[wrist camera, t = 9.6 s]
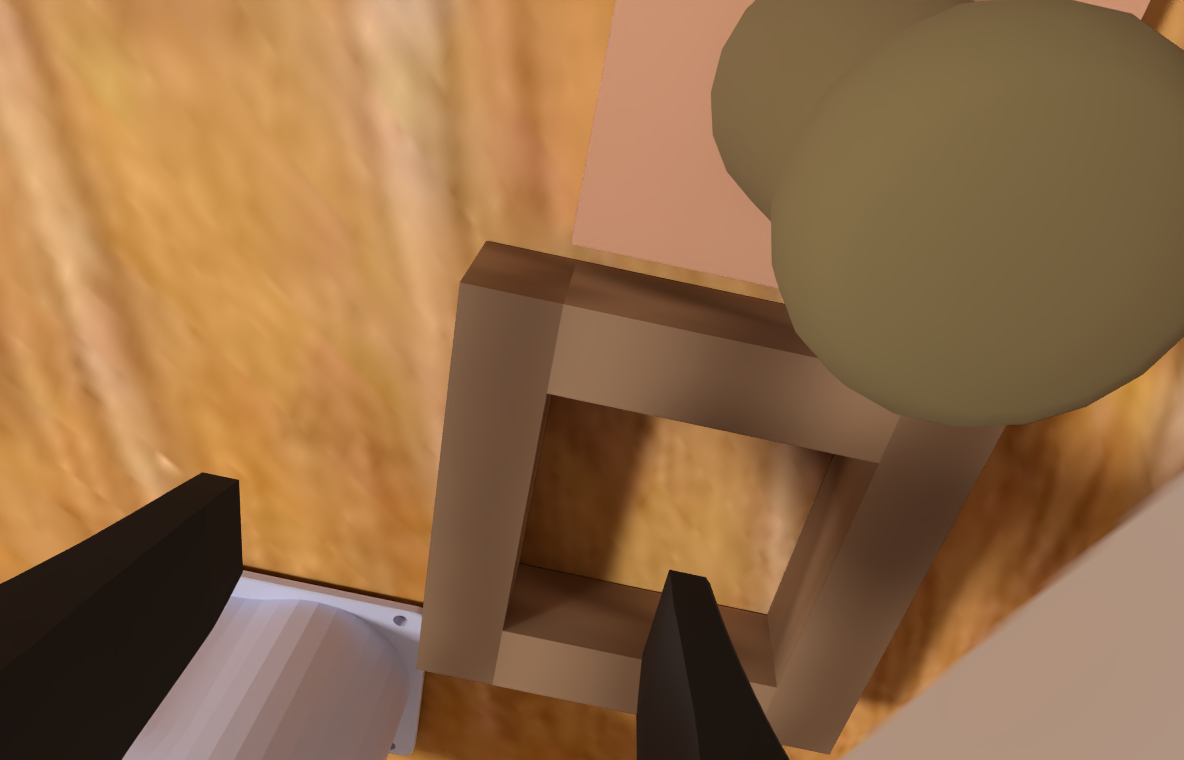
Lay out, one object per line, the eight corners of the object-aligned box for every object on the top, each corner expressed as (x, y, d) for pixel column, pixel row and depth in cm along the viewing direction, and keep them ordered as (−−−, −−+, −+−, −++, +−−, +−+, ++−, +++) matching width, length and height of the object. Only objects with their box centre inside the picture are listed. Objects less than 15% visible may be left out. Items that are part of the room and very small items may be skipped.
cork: (850, -121, 16) (1115, -220, 6) (1044, 78, 17) (1499, 242, 8) (656, 119, 19) (636, 306, 9) (838, 275, 20) (990, 580, 10)
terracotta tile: (574, 233, 21) (571, 244, 20) (671, -292, 16) (671, -303, 15) (977, 320, 21) (987, 332, 20) (1212, -172, 16) (1237, -178, 15)
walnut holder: (440, 601, 28) (415, 669, 25) (486, 240, 21) (460, 282, 19) (814, 678, 28) (829, 754, 25) (977, 345, 21) (1019, 400, 19)
